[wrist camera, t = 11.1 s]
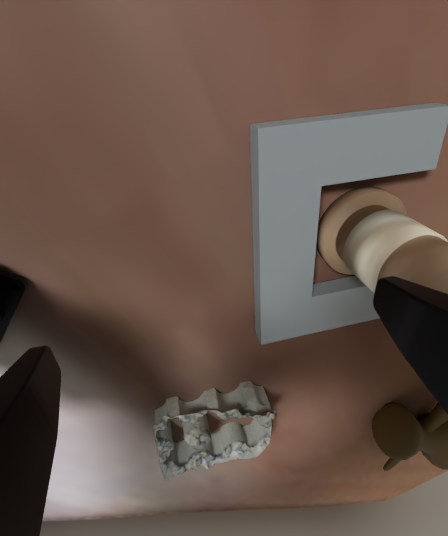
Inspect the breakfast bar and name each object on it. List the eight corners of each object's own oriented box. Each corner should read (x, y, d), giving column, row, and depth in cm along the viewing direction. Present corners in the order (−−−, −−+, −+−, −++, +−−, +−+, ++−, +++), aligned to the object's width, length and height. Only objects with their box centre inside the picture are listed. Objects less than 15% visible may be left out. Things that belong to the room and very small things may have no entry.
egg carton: (266, 373, 31) (283, 411, 28) (260, 423, 35) (275, 462, 32) (150, 394, 29) (152, 438, 26) (157, 445, 33) (160, 489, 29)
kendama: (506, 338, 38) (394, 450, 45) (456, 316, 34) (342, 442, 41) (563, 378, 33) (427, 498, 40) (512, 357, 29) (371, 493, 36)
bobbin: (354, 278, 27) (497, 416, 17) (298, 245, 24) (427, 387, 14) (411, 212, 25) (617, 322, 14) (358, 168, 22) (565, 265, 12)
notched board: (255, 332, 28) (261, 344, 26) (249, 123, 19) (258, 128, 18) (385, 303, 30) (396, 314, 28) (433, 102, 21) (452, 105, 20)
